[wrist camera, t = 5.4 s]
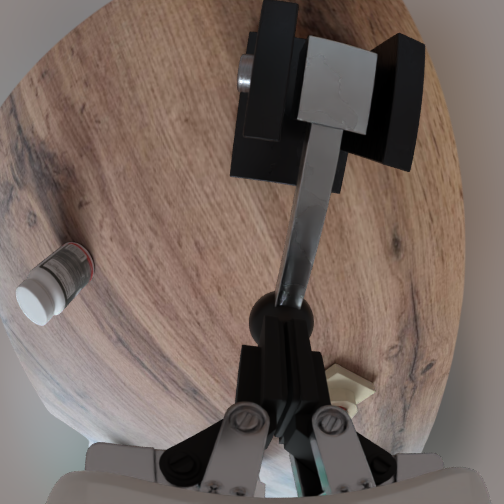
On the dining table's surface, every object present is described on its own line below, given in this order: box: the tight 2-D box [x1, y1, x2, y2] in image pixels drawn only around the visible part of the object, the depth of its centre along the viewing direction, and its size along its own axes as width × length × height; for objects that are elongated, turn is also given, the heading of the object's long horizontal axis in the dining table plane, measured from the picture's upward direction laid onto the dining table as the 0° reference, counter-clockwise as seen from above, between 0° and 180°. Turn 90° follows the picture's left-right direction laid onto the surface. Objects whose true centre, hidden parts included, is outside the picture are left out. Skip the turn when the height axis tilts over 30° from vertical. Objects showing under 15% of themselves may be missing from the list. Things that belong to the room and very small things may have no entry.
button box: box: [325, 363, 376, 419], centre depth 29 cm, size 10×8×4 cm
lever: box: [249, 36, 378, 344], centre depth 10 cm, size 13×3×3 cm, turn 173°
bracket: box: [230, 0, 425, 194], centre depth 12 cm, size 11×8×13 cm
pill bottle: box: [16, 242, 94, 325], centre depth 20 cm, size 5×5×8 cm
